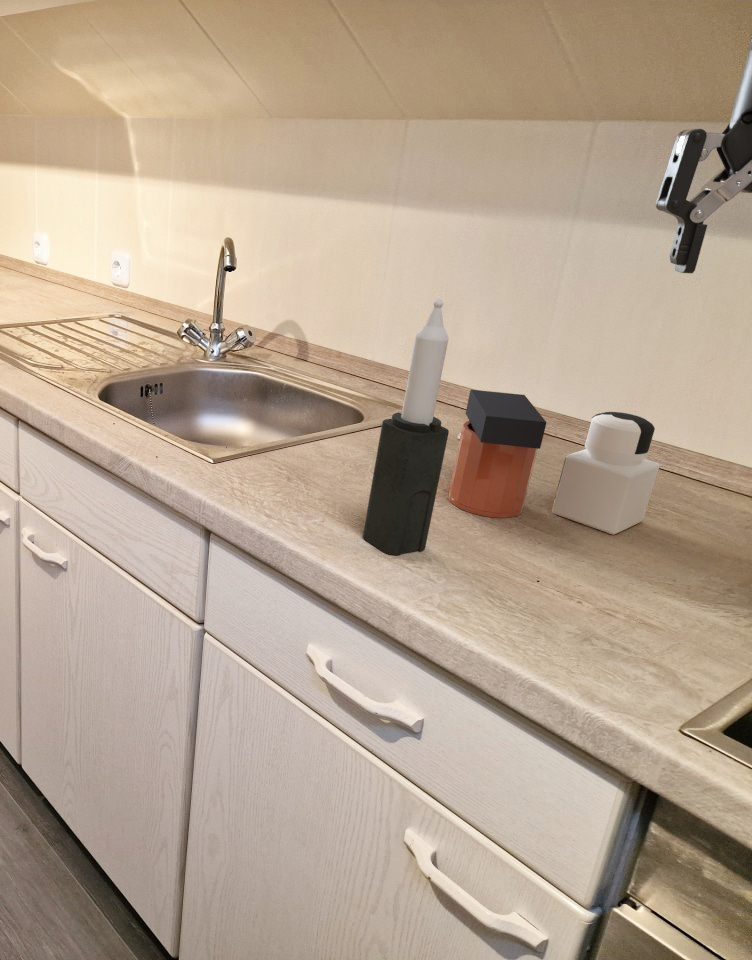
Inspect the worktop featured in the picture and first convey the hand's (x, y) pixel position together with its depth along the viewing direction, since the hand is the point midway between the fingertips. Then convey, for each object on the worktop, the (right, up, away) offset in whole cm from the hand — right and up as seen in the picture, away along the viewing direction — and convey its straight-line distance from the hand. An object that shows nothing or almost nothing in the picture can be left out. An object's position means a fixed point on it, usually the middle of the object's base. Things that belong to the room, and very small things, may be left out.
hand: (744, 276), depth 66 cm
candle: (-20, -23, +22) cm, 37 cm away
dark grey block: (-6, -10, +29) cm, 32 cm away
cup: (-6, -19, +33) cm, 38 cm away
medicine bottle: (+6, -20, +30) cm, 37 cm away
